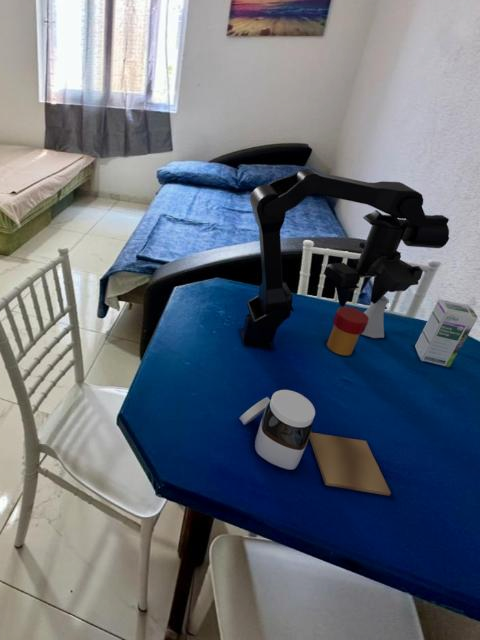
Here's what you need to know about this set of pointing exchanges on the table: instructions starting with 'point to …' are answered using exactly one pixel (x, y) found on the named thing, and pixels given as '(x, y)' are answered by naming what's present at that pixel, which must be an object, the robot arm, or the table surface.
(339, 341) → the orange pill bottle
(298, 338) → the table surface
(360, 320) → the lid
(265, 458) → the spread jar
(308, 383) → the table surface
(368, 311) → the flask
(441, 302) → the syrup box
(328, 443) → the coaster
